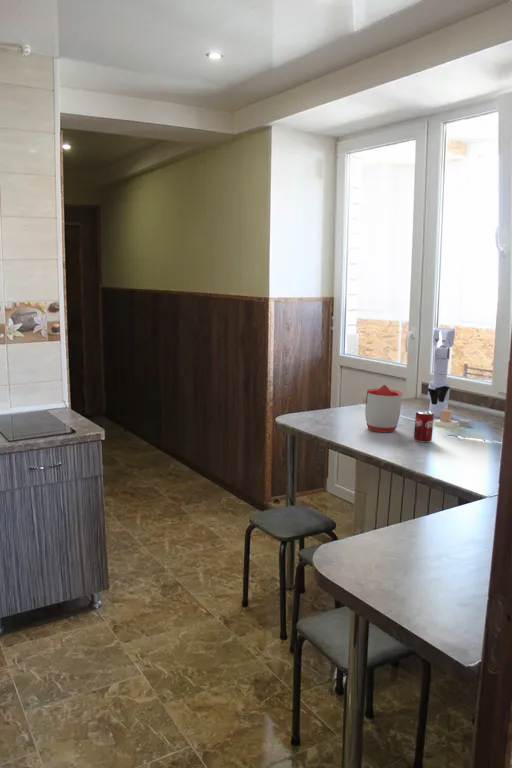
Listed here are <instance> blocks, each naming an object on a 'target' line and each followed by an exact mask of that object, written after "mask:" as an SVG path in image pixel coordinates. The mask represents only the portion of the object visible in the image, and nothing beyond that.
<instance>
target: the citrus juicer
mask: <svg viewBox="0 0 512 768" xmlns="http://www.w3.org/2000/svg"><path fill="white" fill-rule="evenodd" d="M402 396H403V392H402V391H399V390H394V389H390V388H389V387H388V386H387V385H386V384H383V385H382V386H381V387H379V388H370V389H369V388H368V389H367V392H366V396H365V397H363V398H362V399H361V401H360V403H365V406H364V407H365V409H364V414H365V415H364V416H365V421H366V426H367V429H369V430H370V431H372V430H373V431H372V432H379V433H389V432H390V433H391V432H395V430H396V429H397V426H398V423H399V421H400V417H401V409H402V408H401V407H402Z"/></svg>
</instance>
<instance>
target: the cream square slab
mask: <svg viewBox="0 0 512 768" xmlns="http://www.w3.org/2000/svg"><path fill="white" fill-rule="evenodd" d="M435 420H436V421H435ZM435 420H433V421H434V425H435V426H440V427H445V428H454V427H456V426H458V424H459V422H460V420H459V421H458V420H453V419H452V420H451V422H442V421H440V418H439V419H435Z"/></svg>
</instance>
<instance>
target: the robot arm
mask: <svg viewBox="0 0 512 768" xmlns="http://www.w3.org/2000/svg"><path fill="white" fill-rule="evenodd" d="M455 331H456V329H455V328H454V327H453V328H452V327H451V328H450V327H437V326H435V327H434V328H433V335H432V338H433V342H432V343H433V346H434V347H435V348H434V356H433V357H434V367H433V378H432V380H431V381H430V382H429V383H428V388H427V397H428V399H429V409H428V411H429V412H432V413H433V414H434V418H439V419H440V416H441V410H443V409H448V407H449V404H448V401H447V400H449V399H450V390H451V389H450V383H449V382H448V381H447V376H448V365H449V364H448V363H449V360H450V353H451V347H453V345H454V343H455V342H454V341H455V335H456V334H455ZM448 410H449V409H448Z"/></svg>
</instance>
